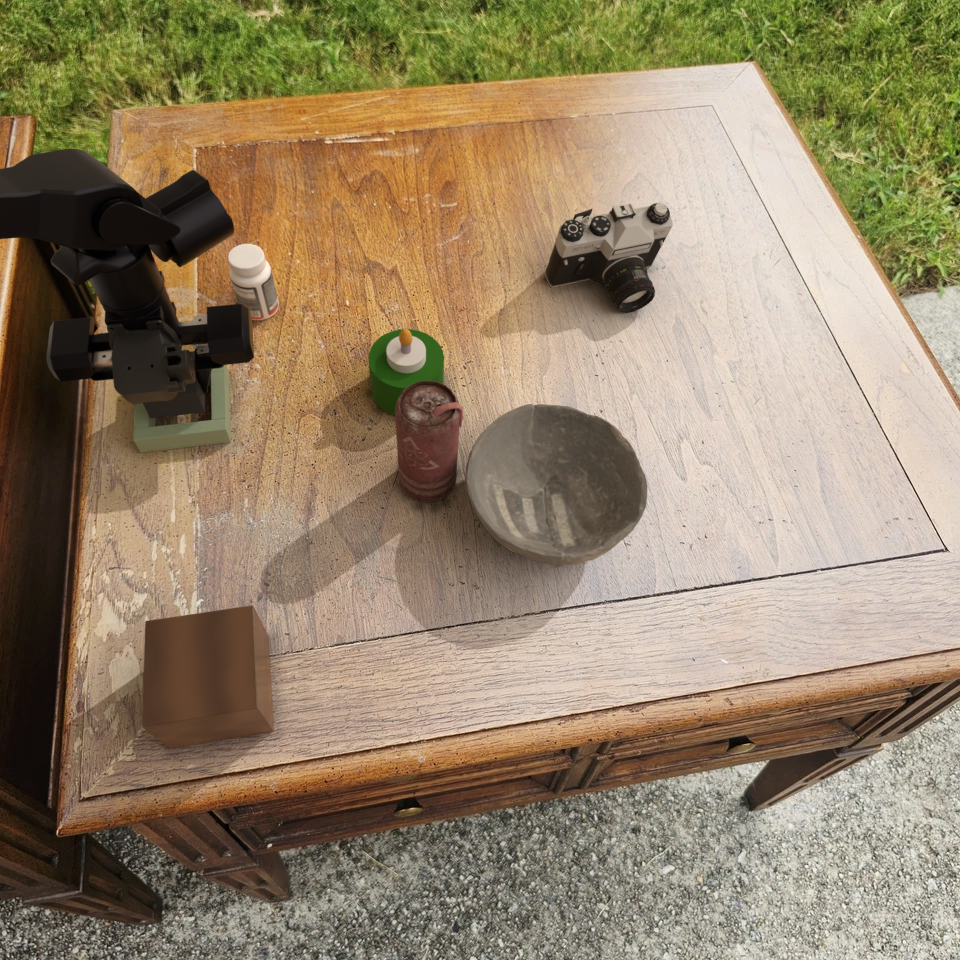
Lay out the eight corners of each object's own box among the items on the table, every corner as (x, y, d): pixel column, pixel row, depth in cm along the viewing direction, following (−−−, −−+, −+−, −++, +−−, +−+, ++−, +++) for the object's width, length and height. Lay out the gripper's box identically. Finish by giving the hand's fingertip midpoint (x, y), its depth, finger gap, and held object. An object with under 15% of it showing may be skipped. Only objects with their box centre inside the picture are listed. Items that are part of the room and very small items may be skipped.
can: (462, 500, 84) (468, 426, 72) (402, 507, 83) (398, 433, 71) (453, 453, 87) (458, 373, 75) (396, 459, 86) (391, 380, 74)
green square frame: (231, 442, 86) (226, 429, 84) (140, 453, 85) (132, 440, 82) (229, 374, 91) (224, 360, 89) (142, 383, 89) (135, 369, 87)
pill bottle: (269, 287, 98) (257, 235, 91) (285, 312, 96) (274, 261, 89) (233, 301, 96) (217, 249, 89) (249, 327, 94) (234, 275, 87)
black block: (150, 418, 83) (139, 398, 80) (151, 376, 86) (141, 356, 83) (205, 412, 84) (196, 392, 81) (204, 371, 87) (196, 350, 84)
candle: (433, 355, 94) (434, 295, 85) (451, 410, 90) (453, 353, 81) (364, 367, 92) (358, 307, 84) (379, 424, 88) (374, 367, 80)
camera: (567, 331, 99) (586, 285, 89) (539, 260, 102) (554, 208, 93) (671, 308, 102) (701, 261, 92) (641, 239, 105) (666, 187, 96)
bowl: (447, 454, 87) (449, 412, 80) (599, 430, 90) (613, 387, 83) (484, 605, 78) (490, 571, 71) (651, 572, 81) (672, 537, 74)
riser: (169, 749, 69) (141, 727, 63) (171, 651, 74) (145, 620, 67) (274, 731, 71) (257, 708, 64) (269, 636, 75) (253, 604, 68)
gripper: (9, 368, 66) (79, 466, 79) (239, 345, 68) (269, 444, 82) (23, 272, 71) (87, 379, 85) (235, 254, 74) (264, 361, 87)
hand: (176, 392), depth 85 cm, fingers closed on black block, 5 cm apart
